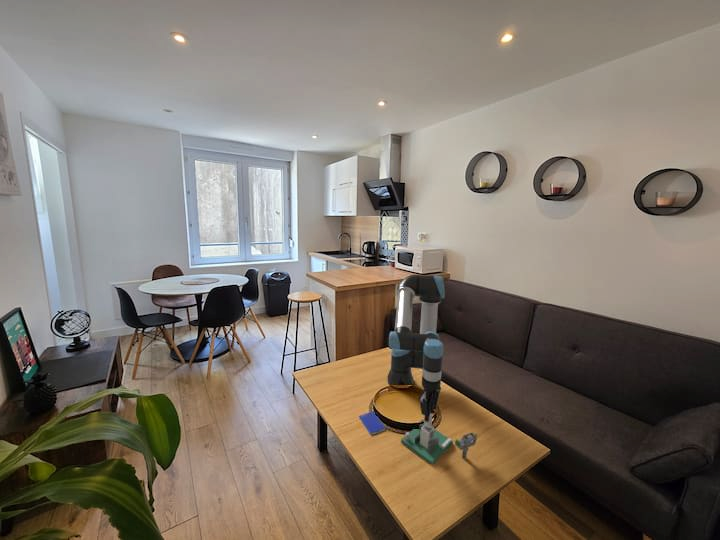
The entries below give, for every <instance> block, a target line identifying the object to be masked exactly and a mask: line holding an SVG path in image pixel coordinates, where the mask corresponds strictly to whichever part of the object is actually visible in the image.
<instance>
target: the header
mask: <svg viewBox="0 0 720 540" xmlns="http://www.w3.org/2000/svg"><path fill="white" fill-rule="evenodd" d="M419 441H420V434H419V435H418V436H416V437H415V444H417V443H418V442H419ZM438 445H439V437H438V436H437V437H436V438H435V439H434V440H433V441H432V442H431V443H430V444H429V445H428V453H429V454H430V453H431V452H432V451H433V450H434V449H435V448H436V447H437V446H438Z"/></svg>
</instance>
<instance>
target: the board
mask: <svg viewBox="0 0 720 540" xmlns="http://www.w3.org/2000/svg"><path fill="white" fill-rule="evenodd" d="M421 422H424V419H421V420H420V421H419V422H418V423H421ZM423 426H424V423H423V424H420V425H419V429H414V428H413V429H412V430H411V431H410V432H409V431H407V432H405V436H404V437H402V438H401V439H400V442H401V443H402V444H403V445H404V446H405V447H407V448H409V449H410V451H411V452H412V451H413V453H414V454H416V455H418V456H419V457H420V458H421V459H423V460H424V461H426V462H427V463H428V464H429V465H431V466H433V465H434V464H435V463H436V462H437V461H438V460H439V459H440V458H441V457H442V456H443V454H445V453H446V452H447V450H449V448H450V447H452V446H453V444H454V440H452V439H451V438H450V437H448V436H446V435H444V434H443V433H441V432H440V431H438V430H436V429H435V428H434V437H433V440H434V439H435V438H436V437H437V436H438V437H439V445H438V446H437V447H436V448H435V449H434V450H433V451H432V452H431V453H430V454H429V453H428V449H427V448H425V447H424V446H422V445H421V444H420V441H419V442H418V443H417V444H415V437H416V436H418V435H419V434H420V433H421V427H423Z"/></svg>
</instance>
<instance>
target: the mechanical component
mask: <svg viewBox="0 0 720 540" xmlns="http://www.w3.org/2000/svg"><path fill="white" fill-rule="evenodd" d="M477 441H478V435H477V434H476V433H474V432H469V433H466V434H463V435H462V437H461V439H456V440H455V441H454V444H455V446H456V447H457V448H458V449H459V450H460V451H462V455H461V457H462V458H463V460H466V459H467V456H468V455H467V454H468V452H469V448H470V447H473V446H476V444H477Z"/></svg>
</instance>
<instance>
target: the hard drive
mask: <svg viewBox="0 0 720 540" xmlns="http://www.w3.org/2000/svg"><path fill="white" fill-rule="evenodd" d="M375 414H376V413H375V411H370V412H366V413H364V414H360V415H359V416H358V418H359V420H360V422H361V423H362V425H363V427H364V428H365V430H366V431H367V432H368V434H369V436H373V435H375V434H378V433H381V432H383V431H387V427H385V425H384V423H382V421H381V419H380V418H379V416H378V415H377V414H376V415H377V416H376V415H375ZM372 434H373V435H372Z"/></svg>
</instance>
